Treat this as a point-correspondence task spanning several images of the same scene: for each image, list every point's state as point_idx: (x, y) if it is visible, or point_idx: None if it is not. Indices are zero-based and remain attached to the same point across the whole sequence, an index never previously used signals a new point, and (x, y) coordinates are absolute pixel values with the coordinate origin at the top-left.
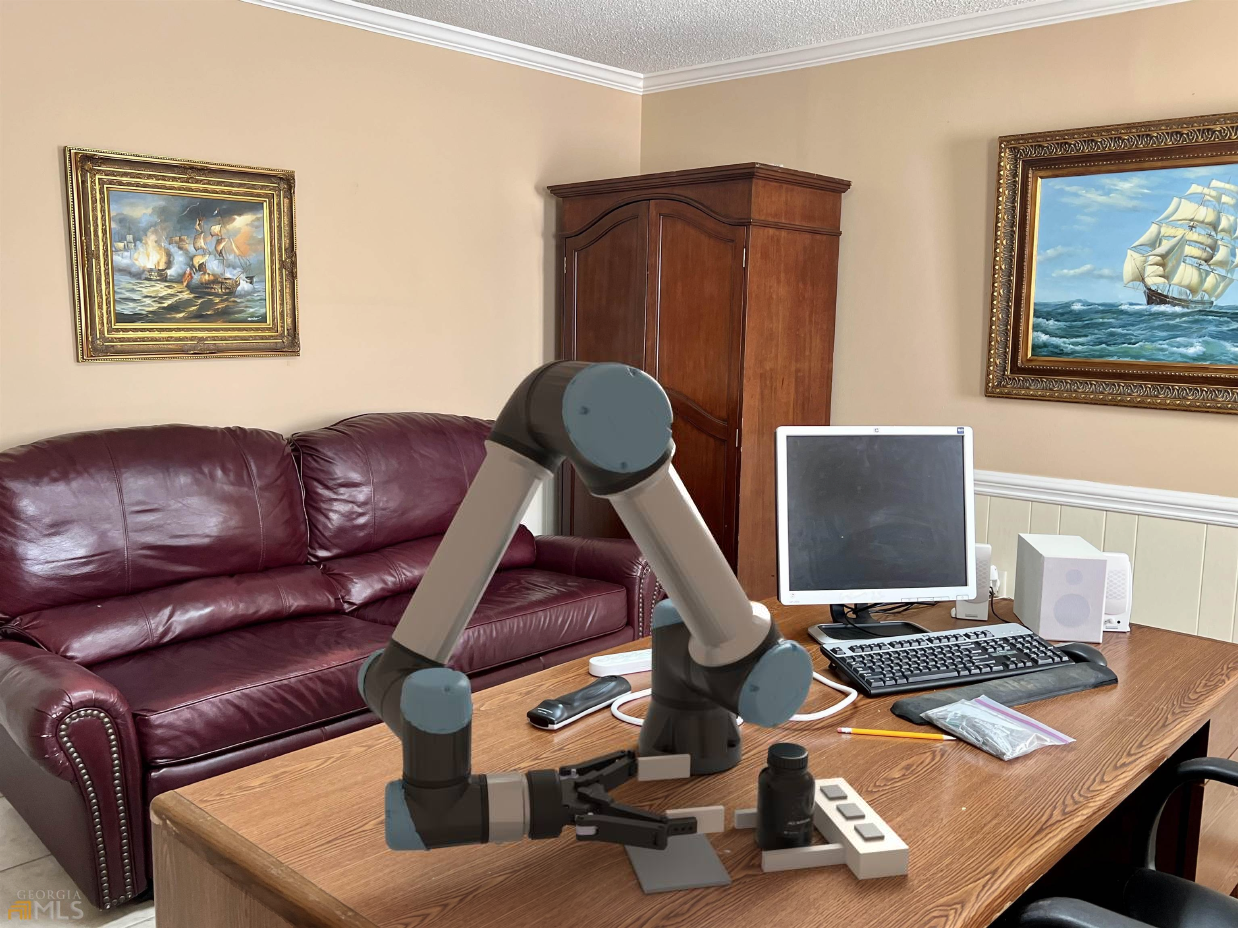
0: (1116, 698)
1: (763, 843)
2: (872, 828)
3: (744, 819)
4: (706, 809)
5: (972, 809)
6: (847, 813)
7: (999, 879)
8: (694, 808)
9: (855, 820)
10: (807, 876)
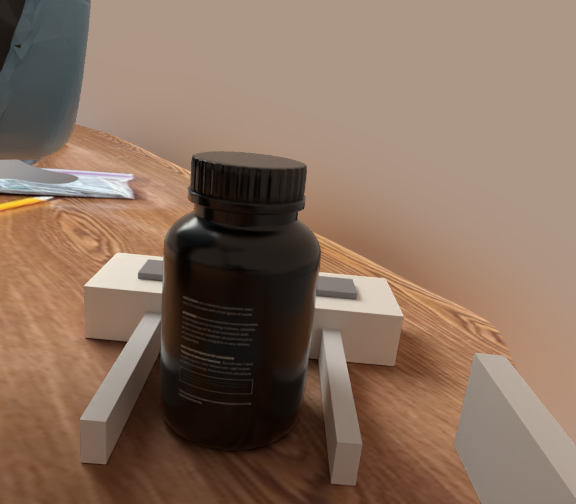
0: (83, 149)
1: (256, 432)
2: (327, 280)
3: (113, 424)
4: (532, 402)
5: None
6: None
7: (394, 276)
8: (542, 437)
9: None
10: (379, 421)
